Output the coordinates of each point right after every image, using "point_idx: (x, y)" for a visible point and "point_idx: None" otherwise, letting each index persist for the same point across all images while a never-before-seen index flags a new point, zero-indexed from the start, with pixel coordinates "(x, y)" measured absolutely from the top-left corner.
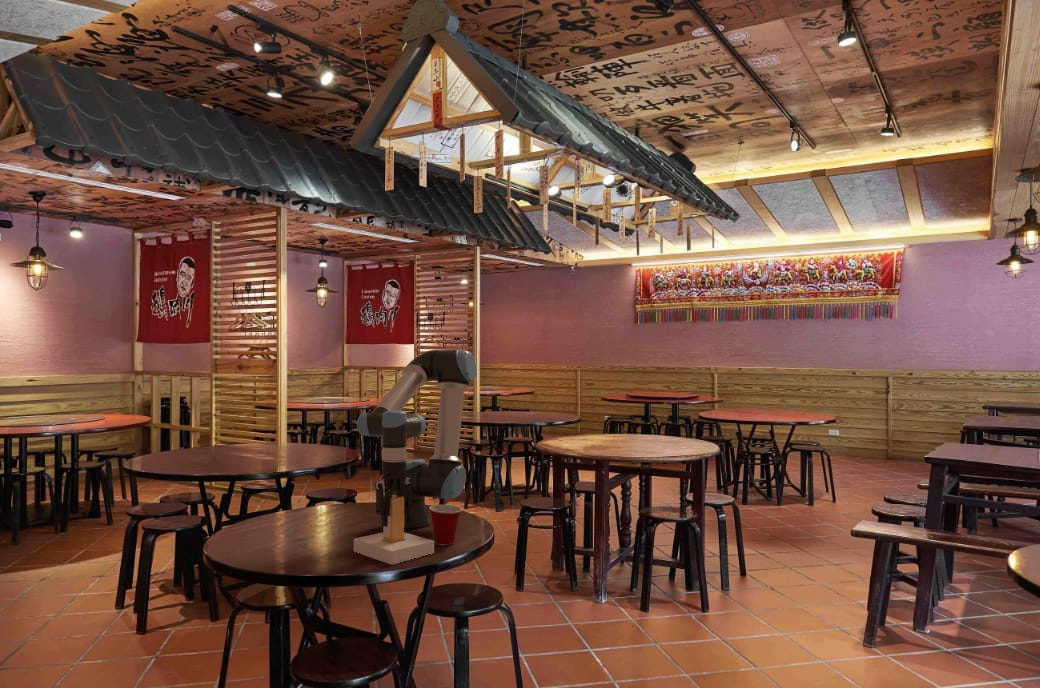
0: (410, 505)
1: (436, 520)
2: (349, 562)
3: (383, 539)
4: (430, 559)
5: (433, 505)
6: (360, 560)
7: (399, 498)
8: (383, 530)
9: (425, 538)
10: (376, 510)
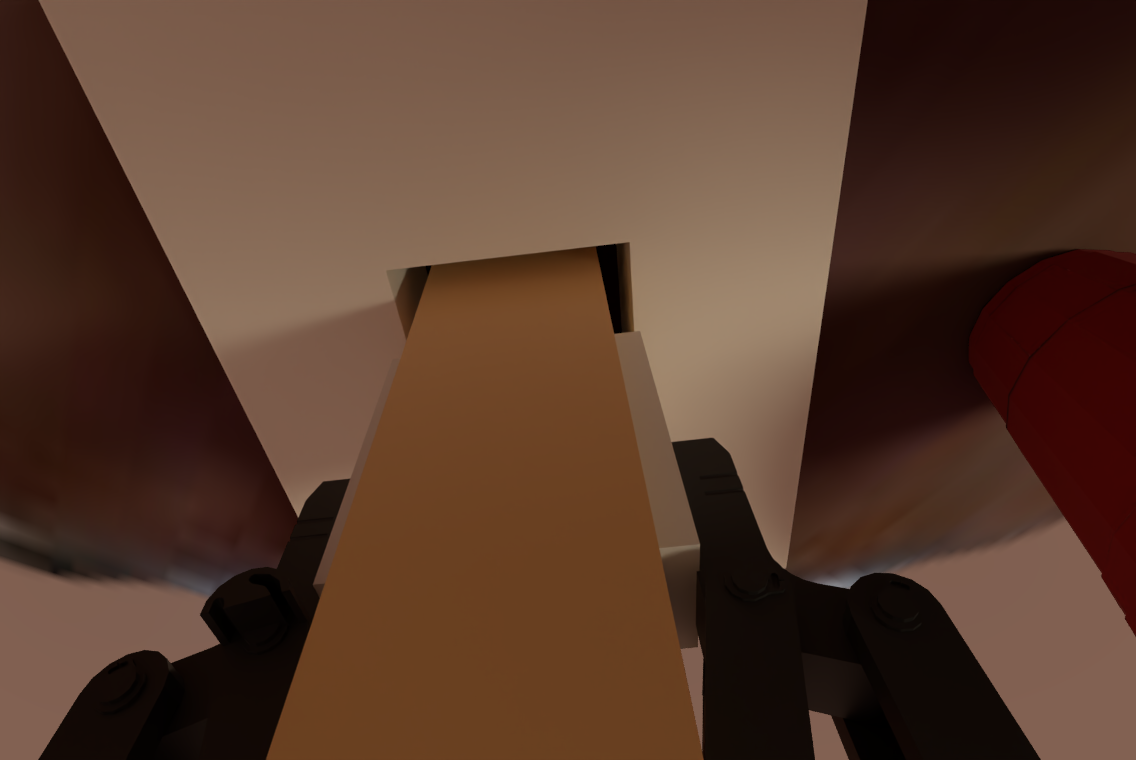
0: (902, 752)
1: (1104, 534)
2: (47, 315)
3: (422, 294)
4: None
5: None
6: (161, 320)
7: None
8: (377, 404)
9: (795, 484)
10: (61, 753)
